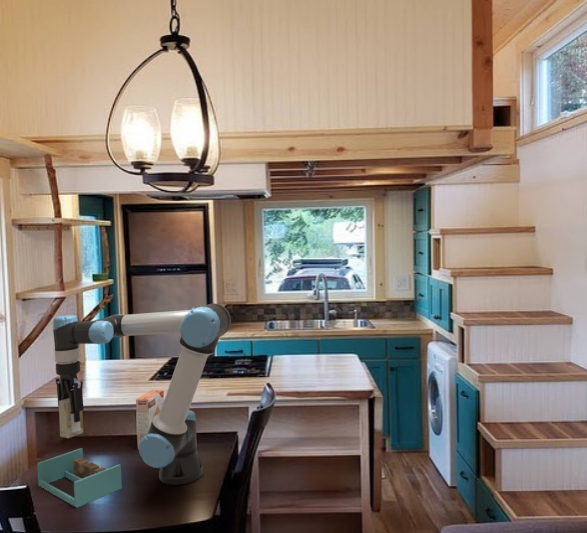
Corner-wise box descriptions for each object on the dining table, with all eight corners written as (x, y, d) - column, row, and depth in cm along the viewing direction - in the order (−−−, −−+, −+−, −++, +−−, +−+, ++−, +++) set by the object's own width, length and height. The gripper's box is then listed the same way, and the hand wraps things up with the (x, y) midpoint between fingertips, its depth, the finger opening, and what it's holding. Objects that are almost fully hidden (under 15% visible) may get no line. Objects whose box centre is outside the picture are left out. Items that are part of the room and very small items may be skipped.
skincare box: (68, 439, 171) (65, 402, 171) (59, 437, 174) (57, 401, 173) (84, 432, 177) (82, 397, 176) (76, 430, 179) (74, 395, 179)
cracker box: (151, 451, 207) (148, 399, 206) (137, 450, 208) (134, 398, 207) (166, 438, 220) (164, 389, 220) (153, 437, 222) (151, 389, 221)
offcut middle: (99, 482, 180) (98, 465, 180) (91, 485, 178) (90, 468, 178) (92, 478, 183) (91, 462, 183) (84, 481, 181) (83, 465, 181)
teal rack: (121, 488, 175) (120, 465, 175) (76, 507, 163) (75, 482, 163) (82, 469, 192) (81, 448, 191) (38, 485, 179) (37, 463, 179)
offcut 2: (110, 487, 176) (110, 470, 176) (102, 491, 174) (101, 473, 173) (102, 484, 179) (102, 466, 179) (94, 487, 177) (93, 470, 176)
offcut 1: (89, 477, 185) (88, 460, 185) (81, 480, 182) (80, 463, 182) (82, 473, 188) (81, 457, 188) (74, 476, 186) (73, 460, 185)
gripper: (92, 361, 172) (96, 431, 173) (64, 356, 183) (69, 421, 184) (70, 366, 166) (75, 438, 167) (43, 361, 177) (48, 428, 178)
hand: (72, 429), depth 175 cm, fingers closed on skincare box, 5 cm apart
